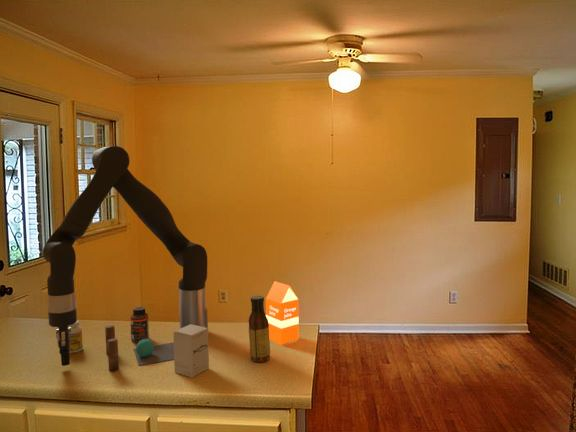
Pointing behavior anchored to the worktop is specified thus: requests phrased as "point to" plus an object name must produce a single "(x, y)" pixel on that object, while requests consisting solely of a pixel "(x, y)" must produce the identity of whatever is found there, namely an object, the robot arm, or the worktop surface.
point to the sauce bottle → (259, 331)
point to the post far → (109, 334)
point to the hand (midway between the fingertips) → (65, 364)
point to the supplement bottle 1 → (76, 338)
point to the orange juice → (282, 313)
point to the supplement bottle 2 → (139, 324)
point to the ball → (145, 348)
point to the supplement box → (191, 350)
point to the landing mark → (157, 354)
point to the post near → (113, 355)
